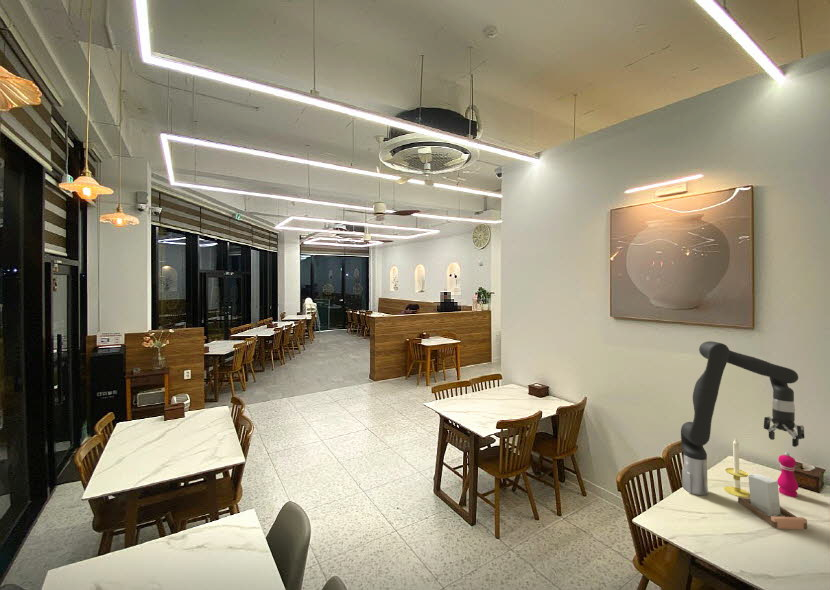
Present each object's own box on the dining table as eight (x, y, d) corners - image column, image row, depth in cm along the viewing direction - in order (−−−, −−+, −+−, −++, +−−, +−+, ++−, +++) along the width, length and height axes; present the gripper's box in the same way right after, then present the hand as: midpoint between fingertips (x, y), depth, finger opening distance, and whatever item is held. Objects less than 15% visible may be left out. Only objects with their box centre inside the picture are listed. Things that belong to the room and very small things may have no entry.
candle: (748, 490, 180) (746, 435, 180) (753, 499, 172) (751, 442, 172) (722, 484, 185) (720, 432, 186) (725, 494, 177) (724, 438, 177)
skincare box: (780, 515, 159) (779, 481, 159) (770, 517, 158) (769, 483, 158) (758, 505, 167) (757, 472, 168) (748, 506, 166) (747, 474, 166)
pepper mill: (803, 498, 172) (801, 456, 172) (785, 496, 174) (784, 455, 174) (790, 490, 179) (789, 449, 179) (773, 489, 181) (772, 448, 181)
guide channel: (774, 528, 151) (774, 522, 151) (738, 502, 170) (738, 497, 170) (807, 529, 150) (806, 523, 150) (766, 503, 169) (766, 497, 169)
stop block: (774, 528, 151) (774, 518, 151) (771, 525, 152) (770, 516, 152) (807, 529, 150) (806, 519, 150) (803, 527, 151) (803, 517, 151)
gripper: (760, 405, 179) (760, 438, 179) (797, 414, 166) (797, 449, 166) (770, 404, 182) (770, 436, 182) (808, 412, 168) (808, 447, 168)
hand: (783, 442), depth 174 cm, fingers open, 8 cm apart
